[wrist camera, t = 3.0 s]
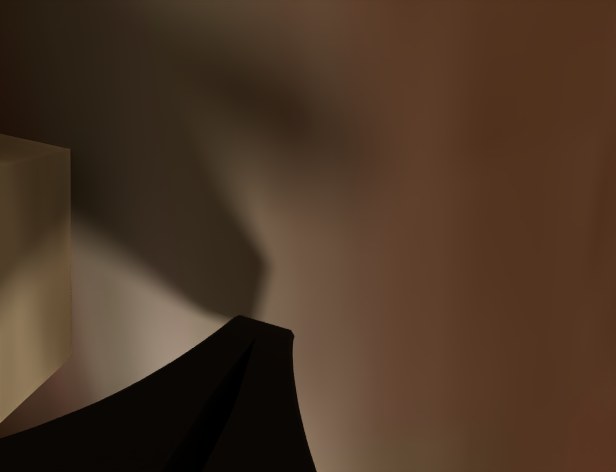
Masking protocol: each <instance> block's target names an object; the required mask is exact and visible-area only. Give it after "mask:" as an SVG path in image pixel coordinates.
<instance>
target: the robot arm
mask: <svg viewBox="0 0 616 472" xmlns="http://www.w3.org/2000/svg"><path fill="white" fill-rule="evenodd" d="M293 340H294V334H293V333H292V331H291V330H289V329H285V328H282V327H279V326H275V325H272V324H268V323H265V322H262V321H258V320H255V319H251V318H248V317H244V316H241V315H238V316H236V317H234V318H233V319H231V320H230V321H229V322H228V323H226V324H225V325H224V326H223V327H221V328H220V329H219V330H217V331H216V332H215V333H213V334H212V335H211V336H209V337H208V338H206V339H205V340H204V341H202V342H201V343H199V344H198V345H196V346H195V347H194V348H192V349H191V350H189V351H188V352H186V353H185V354H183V355H182V356H180V357H179V358H177V359H176V360H174V361H172V362H171V363H169V364H167V365H166V366H164V367H162V368H161V369H159V370H157V371H155V372H154V373H152V374H150V375H149V376H147V377H145V378H144V379H142V380H140V381H138V382H136V383H134V384H132V385H131V386H129V387H127V388H125V389H123V390H121V391H119V392H117V393H115V394H113V395H111V396H109V397H107V398H104V399H102V400H100V401H98V402H96V403H94V404H91V405H89V406H87V407H84V408H82V409H80V410H77V411H75V412H72V413H70V414H67V415H64V416H62V417H59V418H57V419H54V420H52V421H49V422H47V423H44V424H42V425H39V426H36V427H34V428H31V429H28V430H25V431H22V432H19V433H16V434H13V435H10V436H7V437H4V438H1V439H0V472H317V471H316V468H315V465H314V462H313V459H312V456H311V453H310V449H309V446H308V443H307V439H306V435H305V431H304V427H303V423H302V419H301V414H300V410H299V405H298V399H297V393H296V386H295V380H294V371H293Z"/></svg>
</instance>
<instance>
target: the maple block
mask: <svg viewBox="0 0 616 472" xmlns="http://www.w3.org/2000/svg"><path fill="white" fill-rule="evenodd" d="M71 357H72V309H71V165H70V149H67V148H63V147H58V146H54V145H49V144H45V143H40V142H36V141H31V140H27V139H22V138H18V137H13V136H8V135H4V134H0V423H1V422H2V421H3V420H4V419H5V418H6V417H7V416H8V415H9V414H10V413H11V412H13V411H14V410H15V409H16V408H17V407H18V406H19V405H20V404H21V403H22V402H23V401H24V400H25V399H27V398H28V397H29V396H30V395H31V394H32V393H33V392H34V391H35V390H36V389H37V388H38V387H39V386H41V385H42V384H43V383H44V382H45V381H46V380H47V379H48V378H49V377H50V376H51V375H52V374H53V373H54V372H56V371H57V370H58V369H59V368H60V367H61V366H62V365H63V364H64V363H65V362H66V361H67V360H68V359H70V358H71Z"/></svg>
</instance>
